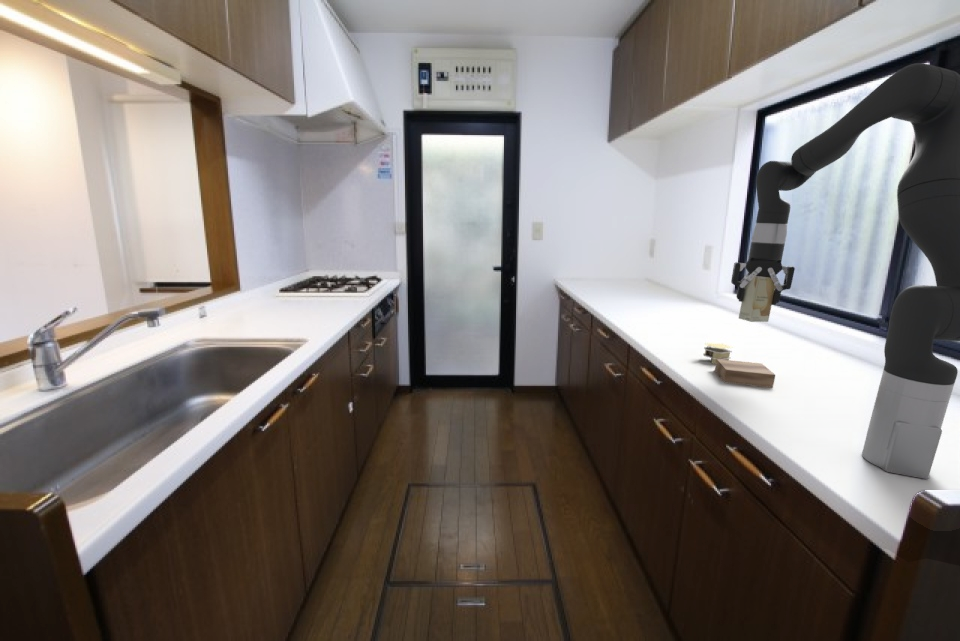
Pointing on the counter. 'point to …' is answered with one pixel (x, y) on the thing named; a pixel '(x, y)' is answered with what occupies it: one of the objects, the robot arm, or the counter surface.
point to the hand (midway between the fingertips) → (756, 302)
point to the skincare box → (757, 299)
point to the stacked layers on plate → (717, 352)
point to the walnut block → (744, 373)
